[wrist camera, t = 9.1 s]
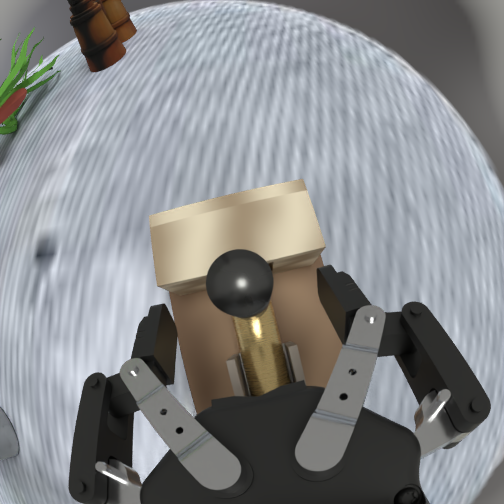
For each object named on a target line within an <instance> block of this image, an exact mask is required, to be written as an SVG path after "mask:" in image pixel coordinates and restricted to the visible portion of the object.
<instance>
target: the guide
mask: <svg viewBox="0 0 504 504" xmlns="http://www.w3.org/2000/svg"><path fill="white" fill-rule="evenodd" d="M149 221H150V232H151V241H152V250H153V258H154V266H155V274H156V280H157V286H158V287H160V288H163V289H165V290H168V291H169V293H170V299H171V305H172V310H173V316H174V321H175V325H176V328H177V333H178V340H179V345H180V350H181V354H182V358H183V363H184V367H185V371H186V375H187V379H188V383H189V387H190V391H191V394H192V398H193V402H194V405H195V409H196V412H197V414H199V413H200V412H201V411H203V410H205V409H207V408H208V407H211V406H212V403H211V400H212V399H219V398H225V397H231V396H251V394H250V390H249V386H248V382H247V378H246V374H245V370H244V366H243V362H242V358H241V354H240V349H239V345H238V341H237V337H236V332H235V328H234V324H233V319H232V315H229V314H226V313H224V312H222V311H221V310H219V309H218V308H217V307H216V306H215V305H214V304H213V303H212V302H211V300H210V298H209V296H208V293H207V290H206V276H207V273H208V270H209V268H210V266H211V264H212V263H213V262H214V261H215V260H216V259H217V258H218V257H219V256H220V255H222V254H223V253H225V252H228V251H231V250H235V249H245V250H250V251H252V252H255V253H257V254H258V255H260V256H261V257H262V258H263V259H264V260H265V261H266V262H267V263H268V265H269V266H270V268H271V271H272V274H273V280H274V284H273V291H272V295H271V301H272V306H273V310H274V314H275V318H276V322H277V326H278V330H279V334H280V338H281V343H282V347H283V351H284V355H285V359H286V363H287V368H288V372H289V376H290V380H291V383H294V382H298V381H302V380H304V381H305V384H306V386H319V387H324V388H326V386H327V384H328V381H329V379H330V376H331V374H332V372H333V369H334V367H335V364H336V361H337V359H338V356H339V354H340V351H341V348H342V346H343V345H342V343H341V341H340V339H339V337H338V335H337V333H336V331H335V329H334V327H333V325H332V323H331V321H330V319H329V317H328V316H327V314H326V312H325V310H324V308H323V306H322V304H321V302H320V300H319V296H318V288H317V272H316V270H317V268H319V267H323V266H324V265H323V261H322V258H321V255H320V254H321V252H322V251H323V250H324V248H325V247H326V246H325V243H324V240H323V236H322V233H321V230H320V227H319V224H318V221H317V218H316V215H315V212H314V209H313V206H312V203H311V200H310V197H309V195H308V192H307V189H306V186H305V183H304V181H303V179H300V180H295V181H290V182H285V183H280V184H275V185H270V186H265V187H261V188H256V189H252V190H247V191H243V192H238V193H234V194H230V195H225V196H221V197H217V198H213V199H209V200H205V201H201V202H197V203H193V204H190V205H186V206H182V207H178V208H175V209H171V210H167V211H164V212H160V213H157V214H153V215H150V216H149Z"/></svg>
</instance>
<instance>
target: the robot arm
mask: <svg viewBox="0 0 504 504" xmlns="http://www.w3.org/2000/svg"><path fill="white" fill-rule="evenodd" d="M316 272H317V288H318V296H319V300H320V302H321V304H322V306H323V308H324V310H325V312H326V314H327V316H328V317H329V319H330V321H331V323H332V325H333V327H334V329H335V331H336V333H337V335H338V337H339V339H340V341H341V343H342V345H343V346H342V348H341V351H340V354H339V356H338V359H337V361H336V364H335V367H334V369H333V372H332V374H331V376H330V379H329V381H328V384H327V386H326V388H324V387H319V386H306V384H305V381H304V380H302V381H298V382H294V383H290V384H287V385H283V386H280V387H278V388H276V389H274V390H272V391H269V392H267V393H265V394H263V395H261V396H231V397H225V398H219V399H212V400H211V403H212V406H211V407H208V408H207V409H205V410H203V411H201V412H200V413H199V414H197V415H196V416H195V417H194V418H193V417H192V416H191V415H190V413H189V412H188V411H187V410H186V409H185V408H184V407H183V406H182V405H181V404H180V403H179V402H178V401H177V400H176V398H175V397H174V396H173V395H172V394H171V393H170V392H169V391H168V389H167V388H166V385H171V384H174V375H175V360H176V348H177V336H178V333H177V328H176V325H175V323H174V321H173V319H172V317H171V315H170V313H169V311H168V308H167V306H166V305H165V304H159V305H154V306H151V307H150V310H149V314H148V316H147V317H144V318H143V319H142V321H141V322H140V324H139V326H138V330H137V334H136V339H135V343H134V347H133V351H132V356H131V359H130V360H128V361H126V362H125V363H124V364H123V365H122V367H121V369H120V373H118V374H115V375H113V376H110V377H108V378H106V376H105V375H104V374H102V373H94V374H92V375H90V376H89V377H88V378H87V379H86V381H85V383H84V386H83V391H82V395H81V400H80V405H79V410H78V415H77V420H76V426H75V432H74V439H73V446H72V453H71V462H70V473H69V492H70V494H71V496H72V497H73V498H74V499H75V500H76V501H78V502H80V503H83V504H430V503H429V501H428V499H427V498H426V496H425V494H424V492H423V491H422V488H421V485H420V480H419V465H420V459H422V458H424V457H426V456H428V455H430V454H432V453H434V452H436V451H438V450H439V449H441V448H443V449H450V448H453V447H454V446H456V445H457V444H458V443H459V442H461V441H462V440H463V439H464V438H465V437H466V436H468V435H469V434H470V433H471V432H472V431H473V430H474V429H475V428H476V427H478V426H479V425H480V424H481V423H482V422H483V421H484V420H485V419H486V418H487V417H488V415H489V413H490V409H491V404H490V400H489V398H488V396H487V395H486V393H485V391H484V389H483V388H482V386H481V384H480V383H479V381H478V379H477V378H476V376H475V375H474V373H473V371H472V370H471V368H470V367H469V365H468V364H467V362H466V361H465V359H464V358H463V356H462V355H461V353H460V352H459V350H458V349H457V347H456V346H455V344H454V343H453V341H452V340H451V339H450V337H449V336H448V334H447V333H446V332H445V330H444V329H443V328H442V326H441V325H440V323H439V322H438V321H437V319H436V318H435V317H434V316H433V314H432V313H431V312H430V310H429V309H428V308H427V307H426V306H425V305H424V304H422V303H420V302H409V303H407V304H405V305H404V306H403V308H402V312H390V313H387V312H384V311H383V310H382V309H381V308H380V307H377V306H374V305H371V304H370V302H369V301H368V299H367V298H366V297H365V295H364V294H363V293H362V291H361V290H360V288H358V286H357V284H356V283H355V282H354V280H353V279H352V278H351V276H350V275H348V274H346V273H344V272H343V271H342V272H338V273H337V272H336V271H335V269H334V268H333V267H332V265H327V266H323V267H319V268H317V270H316ZM392 355H394V356H395V358H396V360H397V362H398V364H399V366H400V367H401V369H402V371H403V373H404V375H405V377H406V379H407V381H408V383H409V385H410V387H411V389H412V391H413V393H414V395H415V397H416V399H417V401H418V403H419V407H418V409H417V410H416V412H415V416H414V420H415V424H416V430H415V432H414V433H413V432H412V431H411V430H409V429H408V428H406V427H404V426H402V425H400V424H398V423H395V422H393V421H391V420H389V419H387V418H385V417H383V416H381V415H379V414H377V413H375V412H373V411H371V410H369V409H367V408H365V407H363V404H364V401H365V398H366V395H367V392H368V388H369V385H370V382H371V378H372V375H373V371H374V367H375V364H376V360H377V357H381V356H392ZM139 410H141V411H142V413H143V414H144V416H145V417H146V418H147V420H148V421H149V422H150V424H151V425H152V426H153V428H154V429H155V430H156V432H157V433H158V434H159V435H160V437H161V438H162V439H163V441H164V442H165V443H166V444H167V445H168V447H169V448H170V449H169V451H168V452H167V453H166V454H165V456H164V457H163V458H162V459H161V461H160V462H159V463H158V464H157V466H156V467H155V468H154V469H153V471H152V472H151V473H150V474H149V476H148V477H147V478H146V479H145V481H144V482H143V484H141V482H140V477H139V475H138V473H137V472H136V471H135V470H134V469H132V447H133V422H134V412H136V411H139ZM18 452H19V446H18V441H17V438H16V434H15V432H14V429H13V427H12V425H11V423H10V421H9V419H8V418H7V416H6V415H5V413H4V412H3V410H2V409H1V408H0V461H1V460H5V459H8V458H11V457H14V456H16V455H17V454H18Z"/></svg>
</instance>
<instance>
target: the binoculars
mask: <svg viewBox="0 0 504 504" xmlns="http://www.w3.org/2000/svg"><path fill="white" fill-rule="evenodd" d="M68 2H69V4H70V6H71V7H70V11H71V12H72V14H73V15H72V16H71V17H70V18H71V20H70V24H71V25H72V26H73V28H74V31H75V33H76V36H77V39H78V41H79V44H80V46H81V52H82V54H83V55H84V56H85V58H86V60H87V63H88V66H89V68H90V71H91V72H98V71H102V70H104V69H106V68H108V67H110V66H112V65H113V64H115V63H116V62H118V61H119V60H120V59H121V58H122V57H123V56H124V55H125V53H126V49H125V47H124V46H123V44H122V43H123V42H125V41H127V40H128V39H130V38H131V37H132V36H134V35H135V33H136V32H137V30H136V28H135V26H134V25H133V23H132V21H131V19H130V15H129V13H128V12H127V11H126V9H125V8H124V6H123V4H122V2H121V0H68Z"/></svg>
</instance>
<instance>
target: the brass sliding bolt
mask: <svg viewBox="0 0 504 504" xmlns="http://www.w3.org/2000/svg"><path fill="white" fill-rule="evenodd" d="M273 284H274V280H273V274H272V271H271V268H270V266H269V265H268V263H267V262H266V261H265V260H264V259H263V258H262V257H261V256H260V255H258V254H257V253H255V252H252V251H250V250H245V249H235V250H231V251H228V252H225V253H223V254H222V255H220V256H219V257H218V258H217V259H216V260H215V261H214V262H213V263H212V264H211V266H210V268H209V270H208V273H207V276H206V290H207V293H208V296H209V298H210V300H211V302H212V303H213V304H214V305H215V306H216V307H217V308H218V309H219V310H221V311H222V312H224V313H226V314H229V315H232V319H233V324H234V328H235V332H236V337H237V341H238V345H239V349H240V354H241V358H242V362H243V366H244V370H245V374H246V378H247V382H248V386H249V390H250V394H251V396H261V395H263V394H265V393H267V392H269V391H272V390H274V389H276V388H278V387H280V386H283V385H287V384H290V383H291V380H290V376H289V372H288V368H287V363H286V359H285V355H284V351H283V347H282V343H281V338H280V334H279V330H278V326H277V322H276V318H275V314H274V310H273V306H272V301H271V295H272V291H273Z"/></svg>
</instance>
